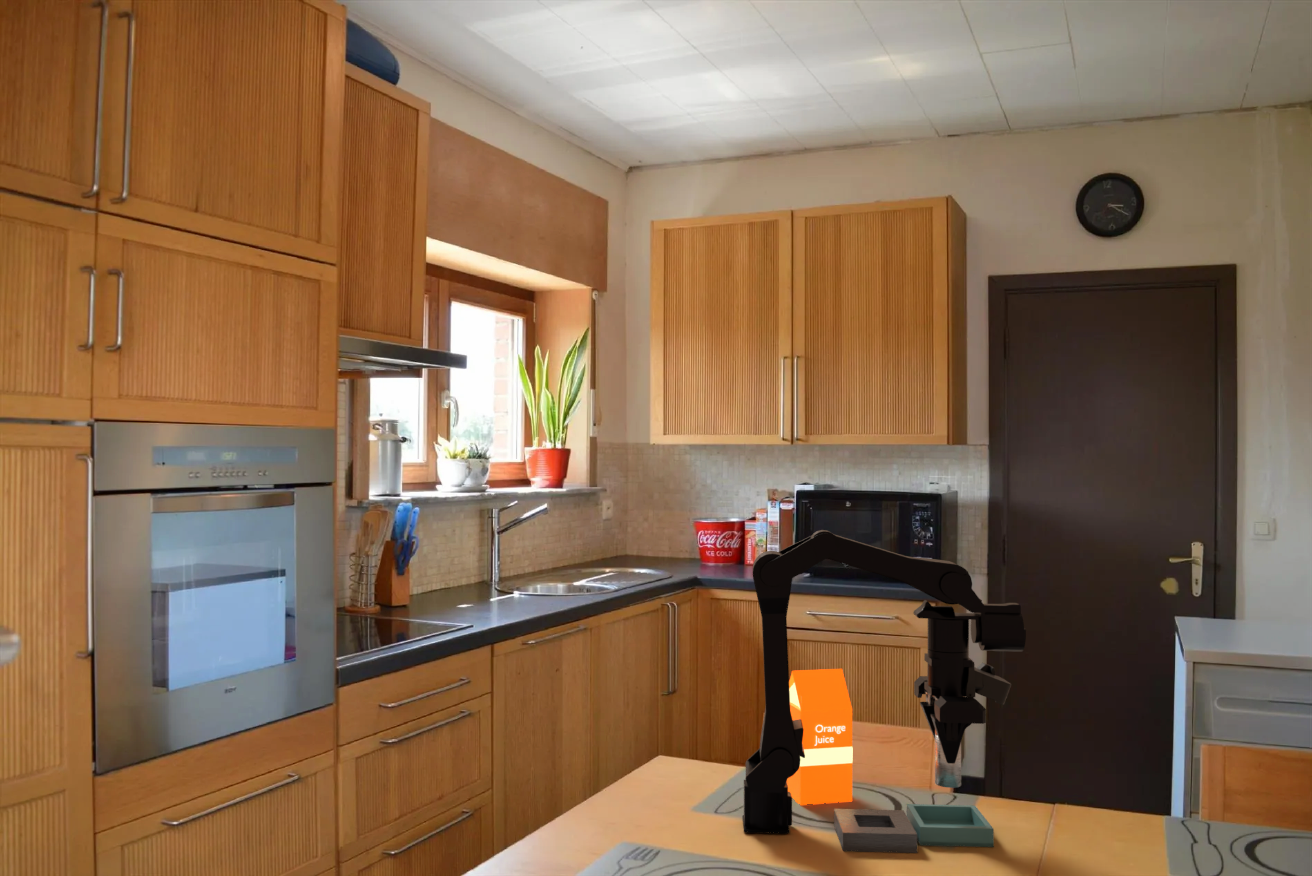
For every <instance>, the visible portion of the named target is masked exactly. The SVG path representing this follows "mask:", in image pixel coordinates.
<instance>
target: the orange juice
mask: <svg viewBox="0 0 1312 876" xmlns="http://www.w3.org/2000/svg"><path fill="white" fill-rule="evenodd" d="M846 682H847V681H846V679H845V676H844V671H843V668H826V669H825V668H824V669H801V670H799V669H798V670H797V669H796V670H792V671H791V675H790V677H789V691H790V711H791V715H792V720H798V719H801V720H802V724H803V729H804V731H803V740H802V744H803V748H804V753H805V758H803V757H801V756H800V767H799V769H798V771H797V772H796V773H795V774H794V775H793V776H791V777H789V778H788V779H787V785H788V791H789V792H790V793H791V796H792V798H793V799H794V800H795V801H794V800H793V799H792V800H793V801H794V802H795V803H797V804H798V805H799V804H800V805H799V806H808V805H807V804H813V805H822V804H824V803H826V804H837V803H838V802H839V803H849V802H850V803H851V802H853V762H854V760H853V759H854V757H853V756H854V755H853V754H854V753H853V706H852V703H851V699H850V694H849V691H848V686H847V683H846ZM826 804H825V805H826Z"/></svg>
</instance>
